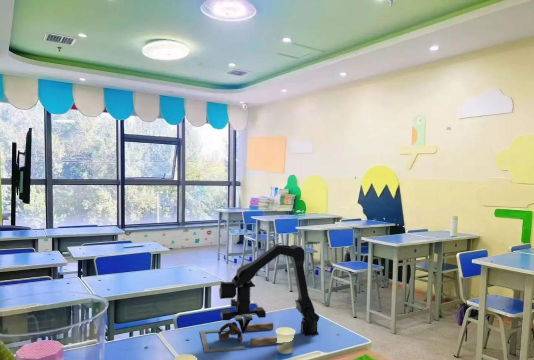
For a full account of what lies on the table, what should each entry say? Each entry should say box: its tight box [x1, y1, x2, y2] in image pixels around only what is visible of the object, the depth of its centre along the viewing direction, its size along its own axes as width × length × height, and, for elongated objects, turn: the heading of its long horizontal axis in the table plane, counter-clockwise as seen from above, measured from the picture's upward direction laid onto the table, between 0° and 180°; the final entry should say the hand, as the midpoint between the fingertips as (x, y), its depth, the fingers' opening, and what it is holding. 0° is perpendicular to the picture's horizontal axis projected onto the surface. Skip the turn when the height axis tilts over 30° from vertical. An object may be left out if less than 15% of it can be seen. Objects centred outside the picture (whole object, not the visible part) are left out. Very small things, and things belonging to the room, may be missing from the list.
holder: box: [245, 322, 277, 347], centre depth 163 cm, size 14×17×2 cm
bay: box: [199, 328, 246, 354], centre depth 158 cm, size 16×21×1 cm
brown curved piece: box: [217, 321, 244, 344], centre depth 158 cm, size 12×10×8 cm
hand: (242, 333), depth 160 cm, fingers closed
